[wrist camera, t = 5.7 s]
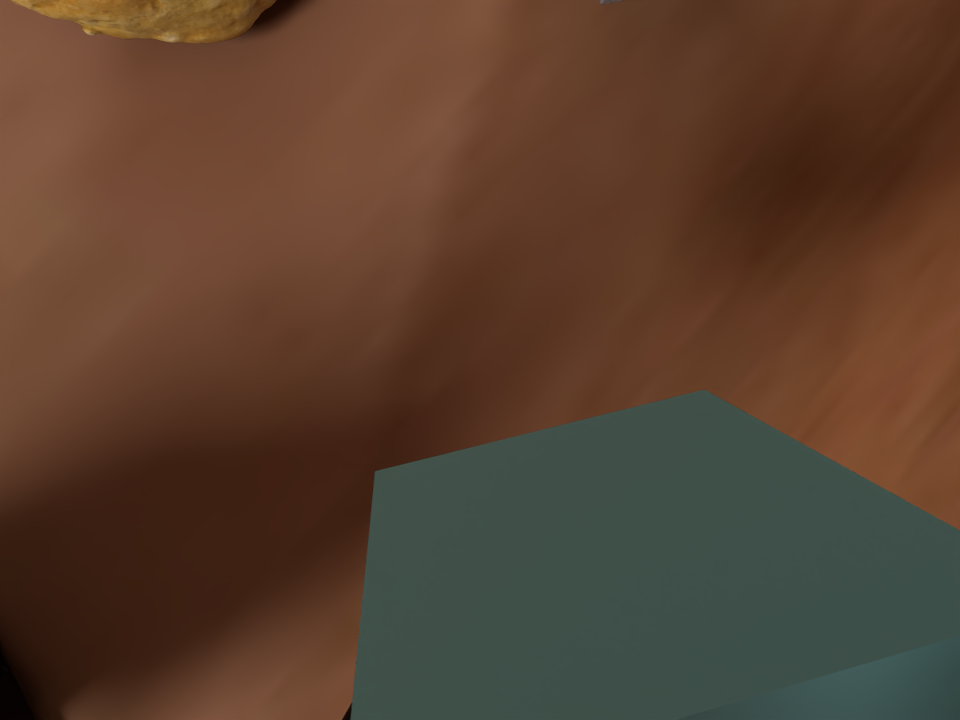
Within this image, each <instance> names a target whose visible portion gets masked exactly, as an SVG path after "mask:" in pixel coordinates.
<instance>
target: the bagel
mask: <svg viewBox="0 0 960 720" xmlns="http://www.w3.org/2000/svg"><path fill="white" fill-rule="evenodd" d="M12 1H13V2H15V3H17V4H18V5H21V6H24V7H26V8H28V9H31V10H33V11H36V12H39V13H41V14H43V15H45V16H48V17H51V18H56V19H64V20H70V21H74V22H76V23H78V24H80V25H82V26H83V27H82V29H83V30H84V31H85V32H86V33H87V34H89V35H96V34H106V35H110V36H114V37H118V38H122V39H133V38H152V39H157V40H161V41H165V42H175V43H178V42H185V43H214V42H217V41H225V40H230V39H232V38H235V37H237V36H240V35H242V34H243V33H245V32H246V31H248V30H249V29H250V27H251V26H252V25H253V23H254V22H255V21H256V20H257V19H258V17H259V15H260V14H261V13H262V12H263V11H264V10H265V9H267V8H269V7H270V6H272V5H273V4H274V3H275V2H276V1H277V0H12Z"/></svg>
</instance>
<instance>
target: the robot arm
mask: <svg viewBox="0 0 960 720" xmlns="http://www.w3.org/2000/svg"><path fill="white" fill-rule="evenodd" d="M351 710H352V703H351V705H350V707H349V708H348V710H347V712H346V714H345V715H344V717H343V719H342V720H351ZM0 720H35V718H34V716H33V714H32V712H31V710H30V708H29V706H28V704H27V702H26V700H25V698H24V696H23V694H22V692H21V690H20V688H19V686H18V684H17V682H16V680H15V678H14V676H13V674H12V672H11V670H10V668H9V666H8V664H7V662H6V660H5V658H4V656H3V654H2V652H1V650H0Z"/></svg>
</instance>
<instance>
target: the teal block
mask: <svg viewBox="0 0 960 720" xmlns="http://www.w3.org/2000/svg"><path fill="white" fill-rule="evenodd" d="M351 720H960V530H958V529H956V528H954V527H953V526H951V525H949V524H947V523H945V522H944V521H942V520H940V519H938V518H936V517H934V516H933V515H931V514H929V513H927V512H925V511H924V510H922V509H920V508H918V507H916V506H914V505H913V504H911V503H909V502H907V501H905V500H904V499H902V498H900V497H898V496H896V495H895V494H893V493H891V492H889V491H887V490H885V489H884V488H882V487H880V486H878V485H876V484H875V483H873V482H871V481H869V480H867V479H865V478H864V477H862V476H860V475H858V474H856V473H855V472H853V471H851V470H849V469H847V468H846V467H844V466H842V465H840V464H838V463H836V462H835V461H833V460H831V459H829V458H827V457H826V456H824V455H822V454H820V453H818V452H816V451H815V450H813V449H811V448H809V447H807V446H806V445H804V444H802V443H800V442H798V441H797V440H795V439H793V438H791V437H789V436H787V435H786V434H784V433H782V432H780V431H778V430H777V429H775V428H773V427H771V426H769V425H767V424H766V423H764V422H762V421H760V420H758V419H757V418H755V417H753V416H751V415H749V414H748V413H746V412H744V411H742V410H740V409H738V408H737V407H735V406H733V405H731V404H729V403H728V402H726V401H724V400H722V399H720V398H718V397H717V396H715V395H713V394H711V393H709V392H708V391H706V390H701V391H697V392H693V393H689V394H685V395H681V396H677V397H673V398H669V399H665V400H661V401H657V402H653V403H648V404H644V405H640V406H636V407H632V408H628V409H624V410H620V411H616V412H612V413H608V414H604V415H600V416H596V417H592V418H588V419H584V420H580V421H576V422H572V423H568V424H564V425H560V426H556V427H552V428H547V429H543V430H539V431H535V432H531V433H527V434H523V435H519V436H515V437H511V438H507V439H503V440H499V441H495V442H491V443H487V444H483V445H479V446H475V447H471V448H467V449H463V450H459V451H455V452H451V453H446V454H442V455H438V456H434V457H430V458H426V459H422V460H418V461H414V462H410V463H406V464H402V465H398V466H394V467H390V468H386V469H382V470H378V471H375V477H374V487H373V497H372V507H371V518H370V528H369V538H368V548H367V558H366V568H365V578H364V589H363V599H362V609H361V619H360V629H359V639H358V650H357V660H356V670H355V680H354V690H353V700H352V710H351Z"/></svg>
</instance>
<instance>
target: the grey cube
mask: <svg viewBox="0 0 960 720" xmlns="http://www.w3.org/2000/svg"><path fill="white" fill-rule="evenodd" d="M617 1H623V0H600V3H601V5H602V4H607V3H612V2H617Z"/></svg>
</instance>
